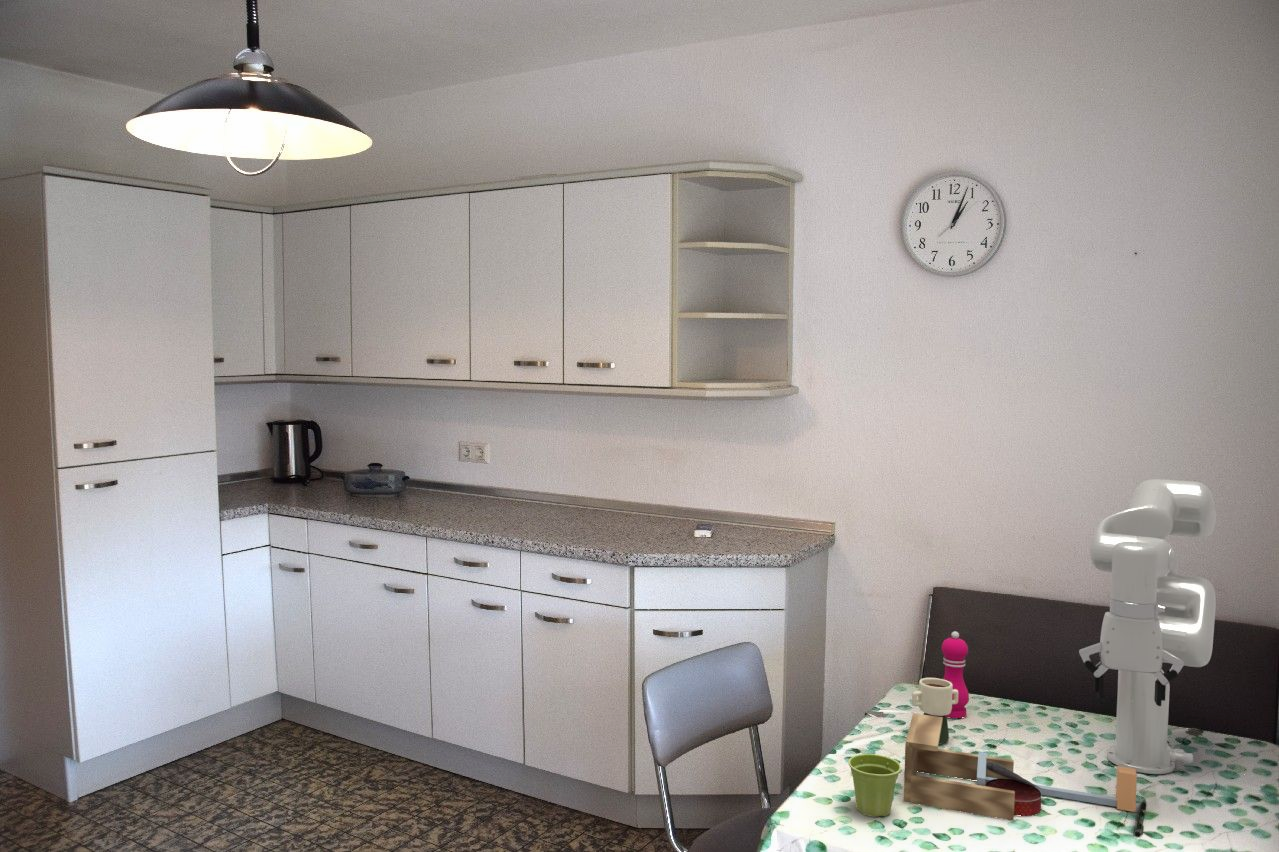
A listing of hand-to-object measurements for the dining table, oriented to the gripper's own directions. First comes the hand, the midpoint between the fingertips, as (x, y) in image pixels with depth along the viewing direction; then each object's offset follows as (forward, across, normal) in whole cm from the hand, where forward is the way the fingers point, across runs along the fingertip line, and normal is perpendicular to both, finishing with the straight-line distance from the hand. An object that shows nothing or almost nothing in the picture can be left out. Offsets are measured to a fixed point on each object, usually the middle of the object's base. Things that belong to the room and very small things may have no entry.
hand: (1128, 700), depth 175 cm
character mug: (+21, +35, -20) cm, 45 cm away
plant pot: (+20, +44, +20) cm, 52 cm away
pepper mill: (+21, +32, -39) cm, 54 cm away
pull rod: (+20, +12, +6) cm, 24 cm away
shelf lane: (+20, +28, +6) cm, 35 cm away
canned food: (+21, +20, +7) cm, 29 cm away
